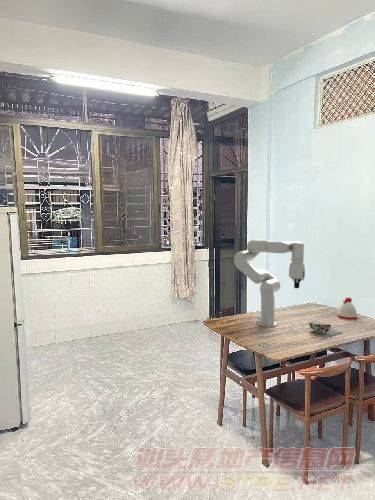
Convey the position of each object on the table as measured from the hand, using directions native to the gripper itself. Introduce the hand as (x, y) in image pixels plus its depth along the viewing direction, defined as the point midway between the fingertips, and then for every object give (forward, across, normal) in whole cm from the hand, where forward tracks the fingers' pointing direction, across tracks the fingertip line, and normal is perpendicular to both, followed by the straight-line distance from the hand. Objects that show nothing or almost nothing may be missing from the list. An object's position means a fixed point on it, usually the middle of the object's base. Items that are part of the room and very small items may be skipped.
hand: (296, 287), depth 243 cm
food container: (+27, +7, +11) cm, 30 cm away
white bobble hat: (+29, 0, +58) cm, 65 cm away
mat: (+29, +15, +13) cm, 35 cm away
